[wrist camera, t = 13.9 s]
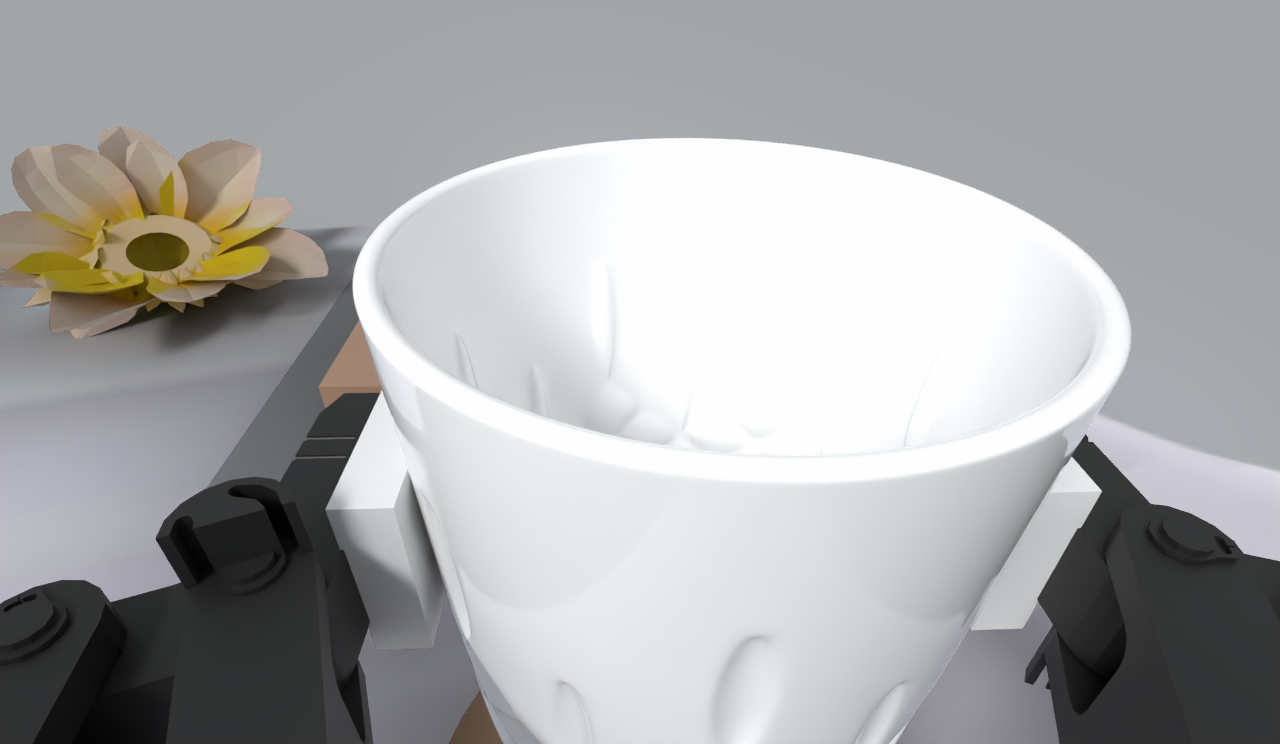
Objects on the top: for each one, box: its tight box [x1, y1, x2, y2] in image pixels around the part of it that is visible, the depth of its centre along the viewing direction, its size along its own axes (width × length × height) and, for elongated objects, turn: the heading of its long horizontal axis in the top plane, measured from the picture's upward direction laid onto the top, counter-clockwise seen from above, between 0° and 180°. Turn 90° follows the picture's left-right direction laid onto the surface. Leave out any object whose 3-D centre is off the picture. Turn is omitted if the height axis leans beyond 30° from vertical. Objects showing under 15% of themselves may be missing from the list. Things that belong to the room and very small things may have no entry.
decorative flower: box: [0, 127, 329, 339], centre depth 33 cm, size 15×11×10 cm
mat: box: [207, 279, 359, 488], centre depth 32 cm, size 16×17×1 cm
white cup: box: [353, 138, 1131, 744], centre depth 10 cm, size 8×8×10 cm
